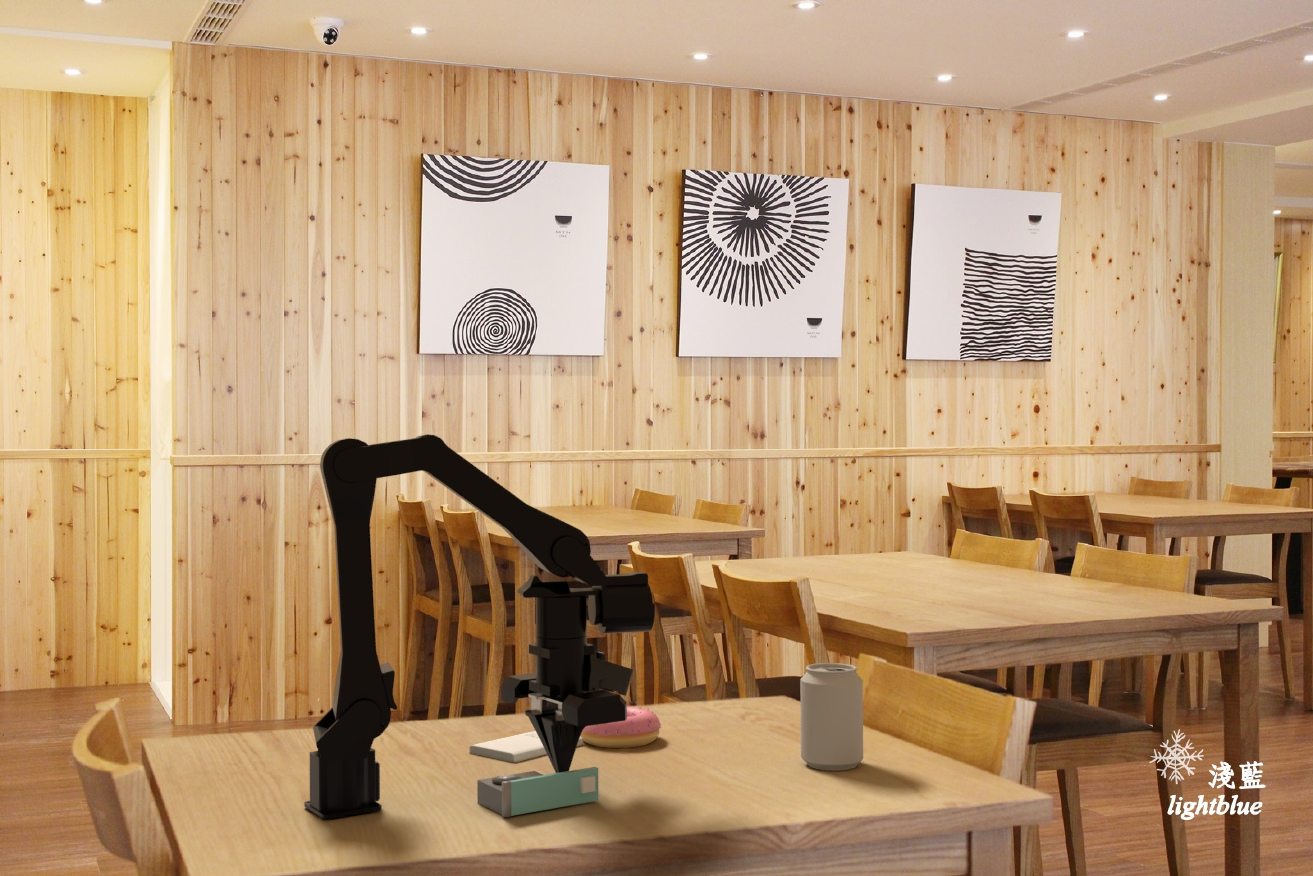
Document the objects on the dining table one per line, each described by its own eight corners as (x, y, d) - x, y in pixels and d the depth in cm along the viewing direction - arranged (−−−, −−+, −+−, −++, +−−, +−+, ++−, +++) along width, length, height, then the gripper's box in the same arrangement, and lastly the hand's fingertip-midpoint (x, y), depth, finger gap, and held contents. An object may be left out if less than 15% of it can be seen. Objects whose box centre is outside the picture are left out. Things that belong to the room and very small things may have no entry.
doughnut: (659, 732, 181) (659, 701, 181) (662, 751, 170) (662, 718, 170) (579, 733, 181) (578, 702, 181) (577, 752, 170) (576, 719, 170)
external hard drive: (469, 757, 169) (539, 740, 179) (514, 767, 164) (583, 748, 173) (469, 744, 169) (539, 728, 179) (514, 753, 164) (583, 736, 173)
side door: (506, 818, 139) (506, 784, 139) (500, 815, 140) (500, 781, 140) (600, 801, 145) (600, 769, 145) (594, 798, 146) (594, 766, 146)
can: (875, 764, 162) (874, 665, 162) (839, 775, 156) (838, 673, 156) (825, 754, 167) (824, 658, 167) (788, 765, 161) (787, 666, 162)
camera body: (502, 815, 140) (502, 787, 140) (477, 803, 145) (477, 775, 145) (560, 805, 144) (560, 777, 144) (534, 793, 149) (534, 766, 149)
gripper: (667, 639, 147) (668, 781, 147) (581, 621, 162) (581, 749, 162) (579, 648, 141) (580, 797, 140) (498, 628, 156) (499, 762, 156)
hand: (562, 774), depth 150 cm, fingers closed
